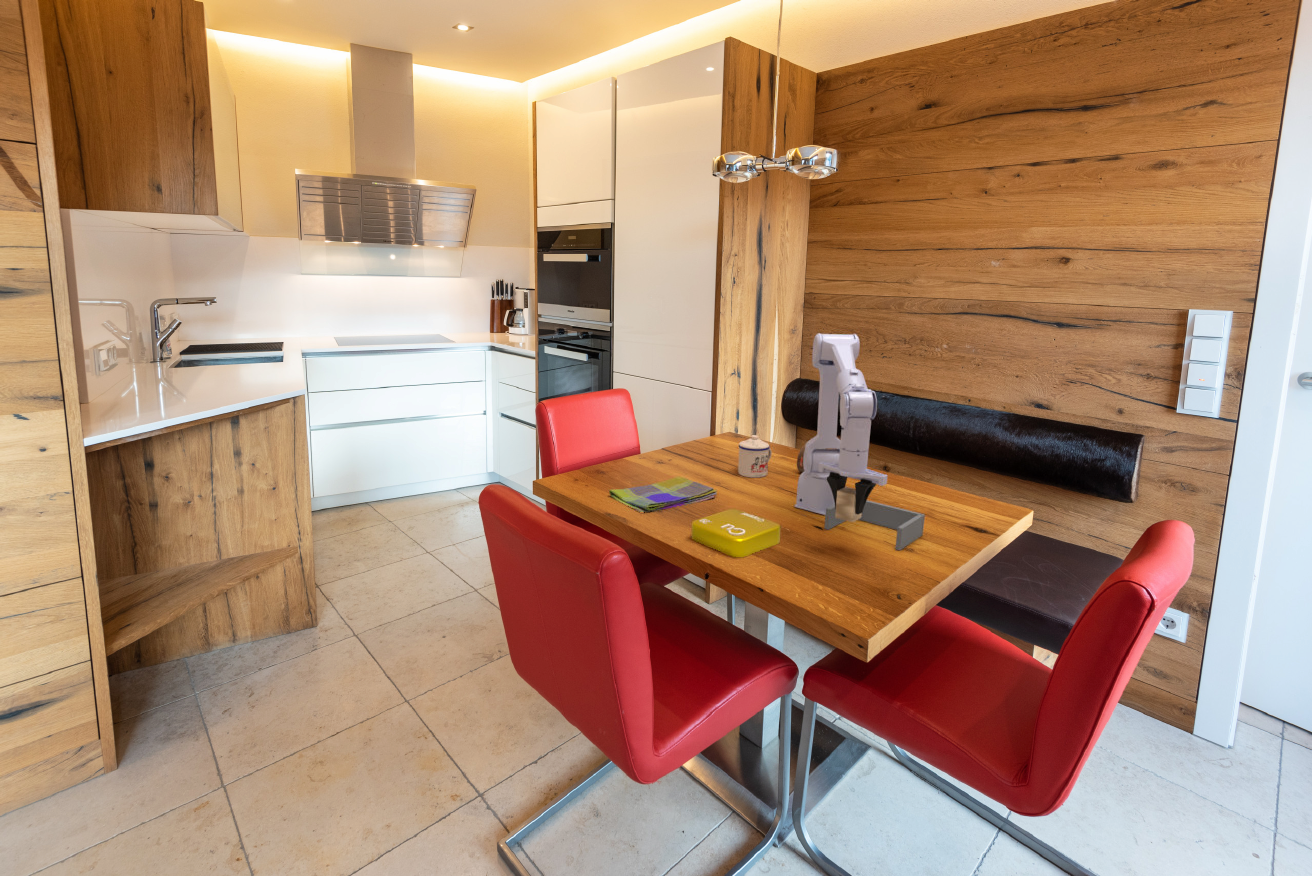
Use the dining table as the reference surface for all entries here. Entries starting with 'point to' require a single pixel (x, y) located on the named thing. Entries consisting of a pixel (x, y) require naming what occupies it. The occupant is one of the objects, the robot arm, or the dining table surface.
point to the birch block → (846, 505)
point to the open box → (886, 521)
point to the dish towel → (663, 494)
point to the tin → (800, 459)
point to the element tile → (736, 532)
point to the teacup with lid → (753, 457)
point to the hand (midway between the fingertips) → (848, 510)
